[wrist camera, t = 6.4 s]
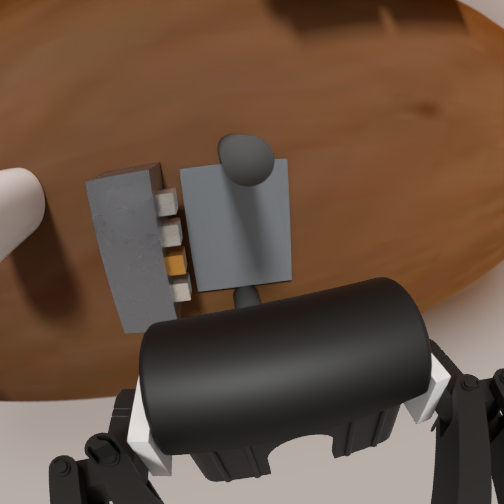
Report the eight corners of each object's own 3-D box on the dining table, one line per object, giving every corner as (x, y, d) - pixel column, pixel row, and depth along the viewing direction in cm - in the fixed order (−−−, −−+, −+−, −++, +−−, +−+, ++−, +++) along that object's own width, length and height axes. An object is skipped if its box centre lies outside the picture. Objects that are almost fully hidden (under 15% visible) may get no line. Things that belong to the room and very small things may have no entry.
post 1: (218, 164, 30) (225, 189, 18) (216, 135, 29) (220, 138, 16) (248, 161, 31) (276, 184, 18) (245, 132, 30) (273, 133, 17)
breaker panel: (135, 304, 35) (125, 333, 30) (106, 172, 29) (85, 181, 23) (196, 297, 36) (194, 327, 30) (175, 160, 30) (167, 166, 24)
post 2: (234, 307, 37) (248, 393, 24) (232, 285, 36) (245, 369, 23) (259, 304, 37) (283, 388, 25) (257, 282, 36) (283, 363, 23)
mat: (198, 290, 36) (198, 291, 35) (180, 169, 30) (179, 169, 30) (290, 278, 37) (291, 279, 36) (286, 158, 31) (287, 158, 31)
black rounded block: (363, 248, 14) (450, 327, 8) (358, 356, 17) (409, 442, 11) (153, 288, 13) (122, 403, 7) (192, 392, 16) (193, 494, 10)
